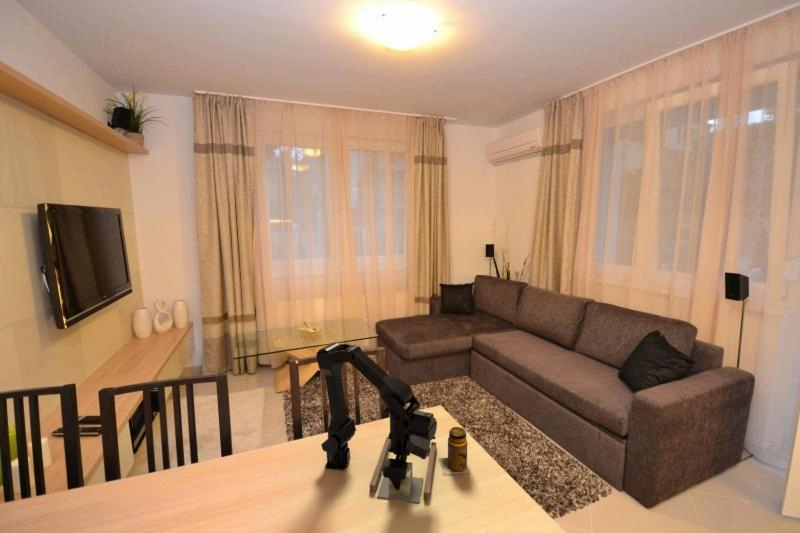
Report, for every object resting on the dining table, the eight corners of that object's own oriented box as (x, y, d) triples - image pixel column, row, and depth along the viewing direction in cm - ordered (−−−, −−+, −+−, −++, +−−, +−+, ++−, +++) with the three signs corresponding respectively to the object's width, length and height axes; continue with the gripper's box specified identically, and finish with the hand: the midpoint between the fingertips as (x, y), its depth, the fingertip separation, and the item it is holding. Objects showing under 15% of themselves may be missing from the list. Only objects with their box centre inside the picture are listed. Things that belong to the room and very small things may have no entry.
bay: (369, 492, 103) (369, 478, 102) (387, 440, 126) (387, 428, 125) (429, 500, 100) (429, 485, 99) (436, 445, 123) (436, 433, 122)
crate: (388, 493, 102) (388, 474, 101) (392, 478, 108) (392, 459, 107) (409, 496, 101) (409, 476, 100) (412, 480, 107) (412, 461, 106)
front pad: (377, 497, 101) (377, 496, 101) (384, 474, 110) (384, 473, 110) (419, 503, 99) (419, 502, 99) (423, 479, 108) (423, 478, 108)
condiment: (471, 472, 110) (471, 437, 108) (444, 475, 109) (444, 440, 107) (463, 456, 117) (464, 423, 115) (438, 459, 116) (438, 425, 114)
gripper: (424, 453, 91) (424, 507, 93) (431, 412, 109) (431, 458, 111) (381, 448, 93) (382, 501, 95) (395, 409, 111) (396, 454, 113)
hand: (400, 477), depth 104 cm, fingers open, 9 cm apart
